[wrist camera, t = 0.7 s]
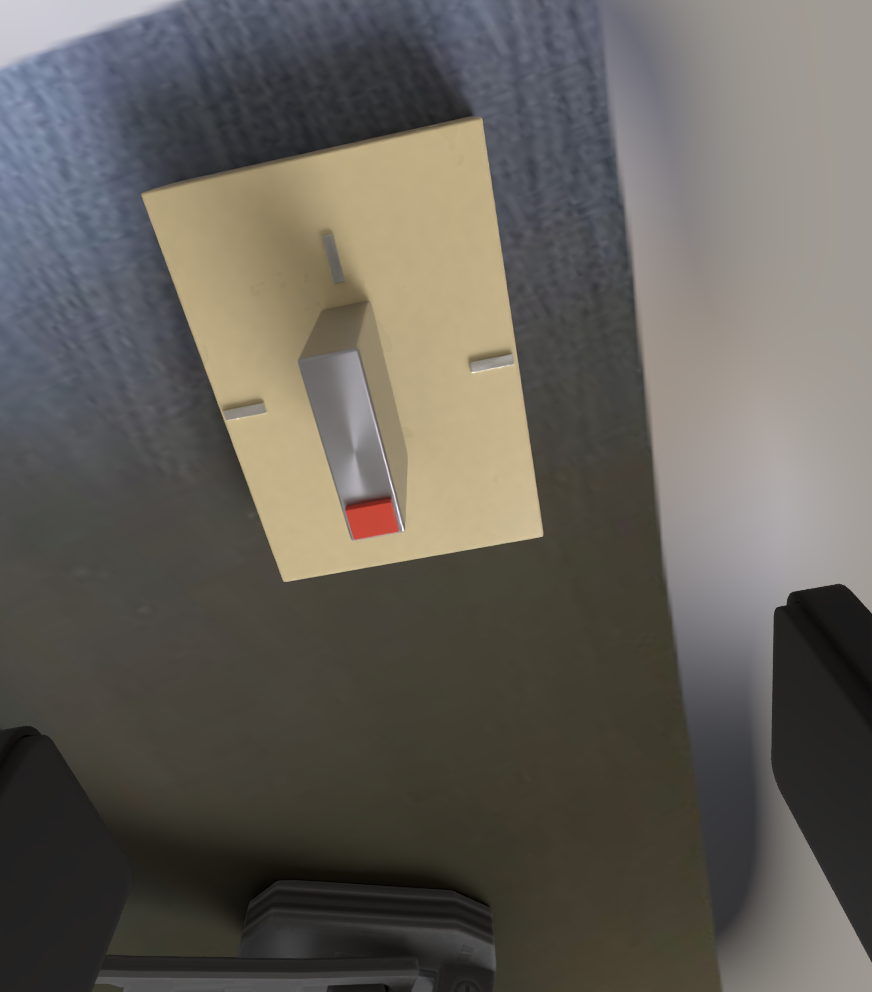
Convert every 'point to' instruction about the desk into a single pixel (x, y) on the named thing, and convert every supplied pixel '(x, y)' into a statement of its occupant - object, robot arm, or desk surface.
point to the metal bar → (357, 419)
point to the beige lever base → (400, 322)
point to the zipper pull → (335, 945)
